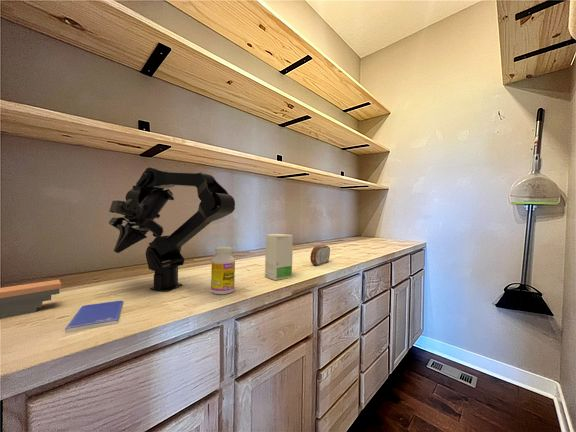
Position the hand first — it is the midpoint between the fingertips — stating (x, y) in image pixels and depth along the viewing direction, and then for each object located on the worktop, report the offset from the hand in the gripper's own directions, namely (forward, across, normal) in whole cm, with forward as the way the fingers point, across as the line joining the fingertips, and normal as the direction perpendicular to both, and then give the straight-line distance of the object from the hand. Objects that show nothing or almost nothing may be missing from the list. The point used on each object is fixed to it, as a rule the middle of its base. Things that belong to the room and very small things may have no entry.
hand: (115, 252), depth 65 cm
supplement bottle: (-1, +22, +22) cm, 31 cm away
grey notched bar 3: (+14, -5, -4) cm, 16 cm away
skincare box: (-15, +27, +40) cm, 50 cm away
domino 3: (+16, -6, -4) cm, 18 cm away
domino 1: (+12, -5, -4) cm, 13 cm away
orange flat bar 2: (+13, -5, -3) cm, 14 cm away
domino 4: (+18, -6, -4) cm, 19 cm away
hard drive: (+15, +11, +1) cm, 19 cm away
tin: (-33, +31, +64) cm, 78 cm away
